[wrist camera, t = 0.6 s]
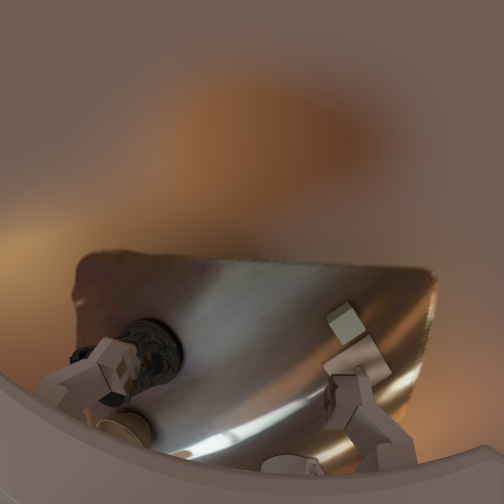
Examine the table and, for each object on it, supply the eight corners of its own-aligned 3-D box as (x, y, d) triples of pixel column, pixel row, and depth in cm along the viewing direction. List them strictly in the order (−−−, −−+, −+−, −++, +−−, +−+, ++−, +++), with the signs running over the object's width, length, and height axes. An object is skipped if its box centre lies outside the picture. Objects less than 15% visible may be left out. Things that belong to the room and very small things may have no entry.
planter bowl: (155, 453, 64) (139, 472, 54) (112, 425, 67) (94, 441, 56) (167, 423, 63) (150, 444, 52) (120, 393, 65) (98, 409, 55)
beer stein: (195, 373, 61) (145, 429, 36) (135, 384, 64) (78, 427, 40) (168, 309, 62) (101, 340, 37) (111, 328, 65) (43, 355, 40)
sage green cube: (359, 321, 55) (366, 329, 49) (338, 336, 55) (342, 345, 50) (347, 301, 55) (352, 307, 49) (325, 316, 56) (328, 323, 50)
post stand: (390, 371, 53) (400, 384, 46) (346, 399, 55) (351, 415, 48) (368, 332, 54) (376, 343, 47) (321, 362, 56) (324, 376, 49)
